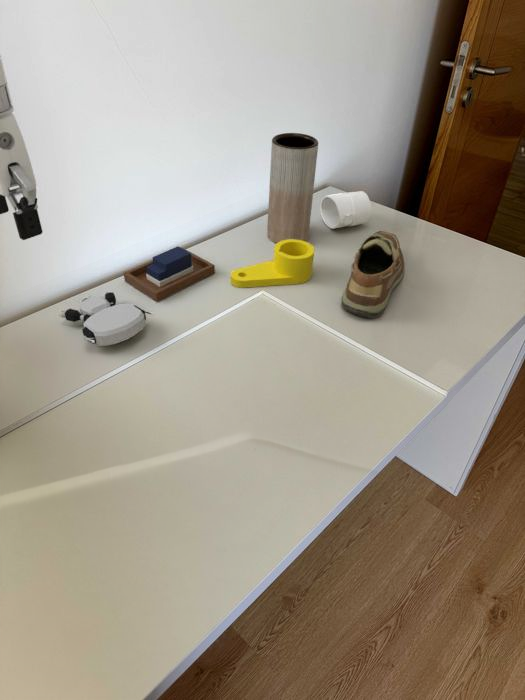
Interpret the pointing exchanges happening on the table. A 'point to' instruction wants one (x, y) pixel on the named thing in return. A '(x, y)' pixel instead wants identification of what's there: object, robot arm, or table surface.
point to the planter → (291, 186)
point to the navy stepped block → (169, 266)
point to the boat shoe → (374, 275)
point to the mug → (345, 209)
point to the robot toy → (107, 319)
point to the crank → (279, 267)
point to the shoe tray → (157, 293)
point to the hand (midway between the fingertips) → (14, 224)
